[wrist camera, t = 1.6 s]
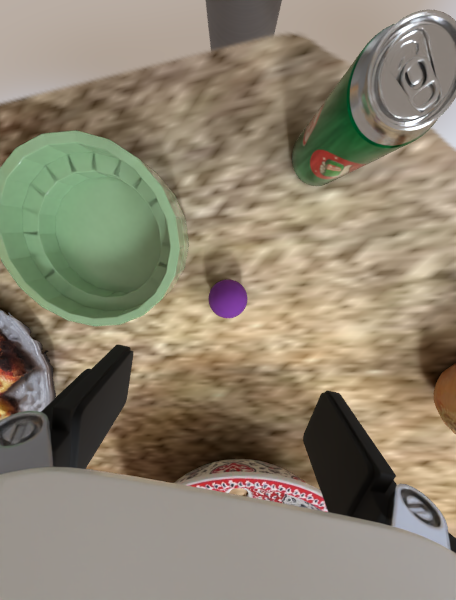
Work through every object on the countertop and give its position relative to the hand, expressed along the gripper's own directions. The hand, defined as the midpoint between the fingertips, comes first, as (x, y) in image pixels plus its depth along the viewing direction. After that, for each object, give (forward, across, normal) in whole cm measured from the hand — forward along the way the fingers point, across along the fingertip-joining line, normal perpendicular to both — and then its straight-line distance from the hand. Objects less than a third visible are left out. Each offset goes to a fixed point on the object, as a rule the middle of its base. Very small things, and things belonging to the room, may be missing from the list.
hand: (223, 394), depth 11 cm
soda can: (+16, -5, -16) cm, 23 cm away
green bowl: (+15, +13, -4) cm, 21 cm away
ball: (+14, 0, -1) cm, 14 cm away
